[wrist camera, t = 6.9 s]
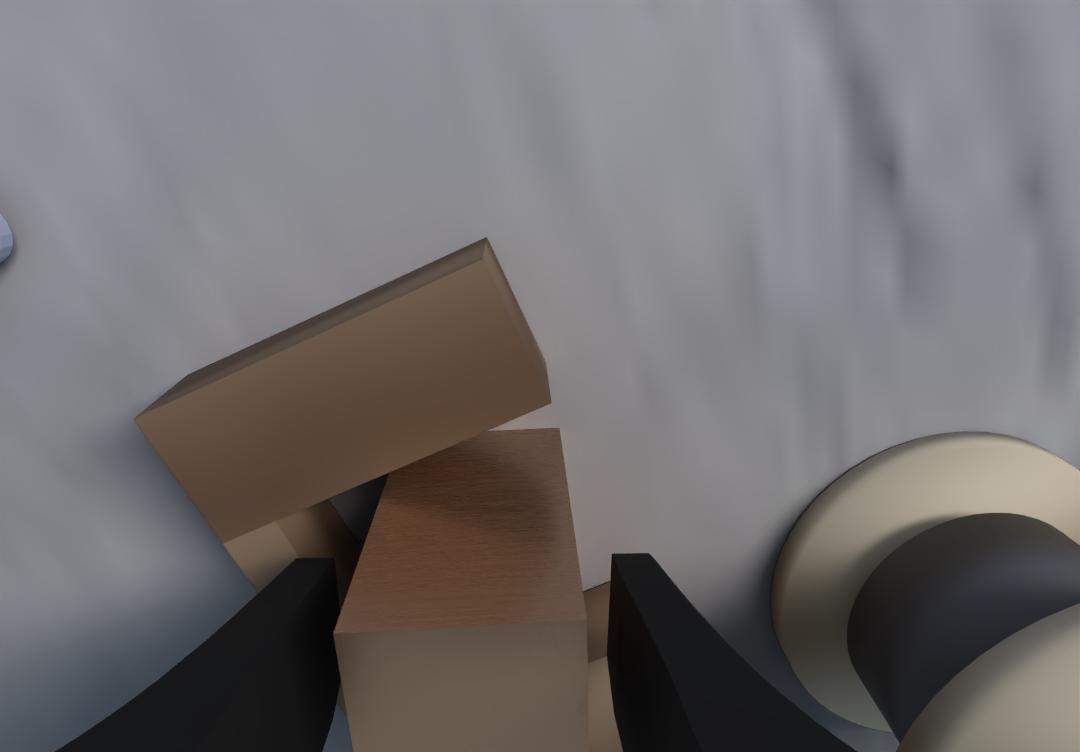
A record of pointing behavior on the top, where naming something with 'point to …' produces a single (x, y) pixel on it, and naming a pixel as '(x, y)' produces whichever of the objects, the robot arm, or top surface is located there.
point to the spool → (941, 596)
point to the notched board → (359, 422)
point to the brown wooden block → (469, 606)
